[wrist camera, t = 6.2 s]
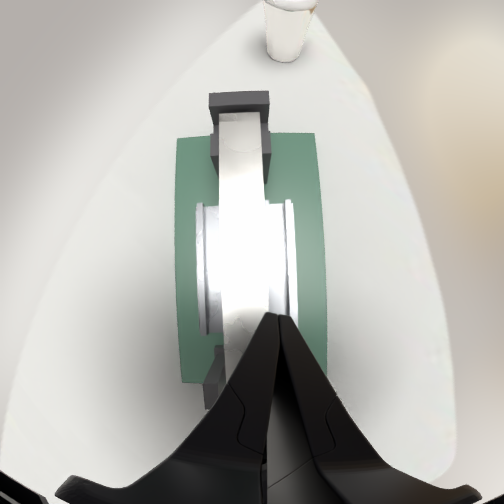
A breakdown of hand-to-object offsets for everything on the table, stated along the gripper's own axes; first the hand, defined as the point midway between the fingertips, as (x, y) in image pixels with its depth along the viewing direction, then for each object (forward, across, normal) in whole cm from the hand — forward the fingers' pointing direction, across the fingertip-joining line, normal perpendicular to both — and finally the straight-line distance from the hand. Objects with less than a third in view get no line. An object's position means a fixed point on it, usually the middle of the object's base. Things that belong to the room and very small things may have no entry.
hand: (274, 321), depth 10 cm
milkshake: (+25, +1, -10) cm, 27 cm away
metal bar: (+8, +1, +3) cm, 9 cm away
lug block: (+17, +2, 0) cm, 17 cm away
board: (+13, 0, +6) cm, 14 cm away
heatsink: (+12, 0, +7) cm, 14 cm away
